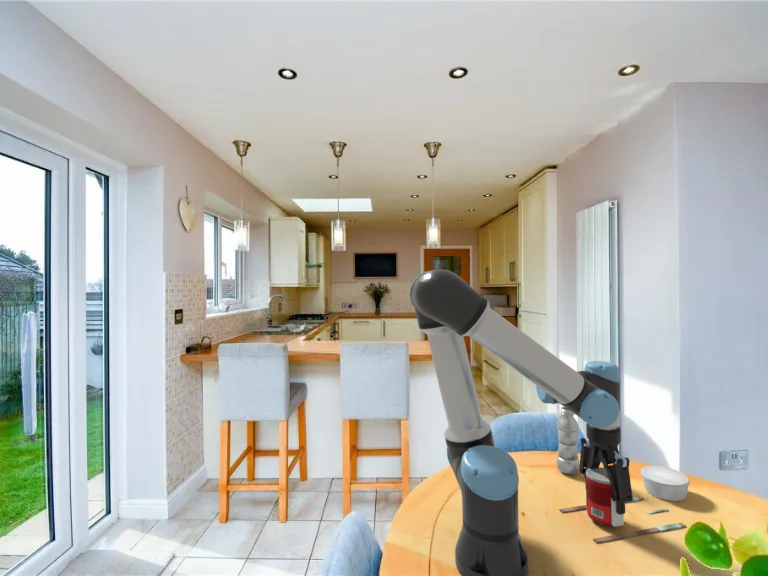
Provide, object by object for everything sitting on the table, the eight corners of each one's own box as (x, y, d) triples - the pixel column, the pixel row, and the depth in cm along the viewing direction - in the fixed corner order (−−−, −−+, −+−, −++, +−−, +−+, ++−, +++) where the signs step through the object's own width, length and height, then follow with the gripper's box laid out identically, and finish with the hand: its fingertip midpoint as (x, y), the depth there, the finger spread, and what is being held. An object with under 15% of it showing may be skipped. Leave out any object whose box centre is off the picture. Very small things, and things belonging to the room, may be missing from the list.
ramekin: (644, 499, 109) (644, 479, 109) (638, 479, 119) (638, 462, 119) (694, 508, 104) (694, 488, 104) (684, 487, 114) (683, 469, 114)
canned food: (628, 528, 95) (627, 483, 95) (591, 525, 96) (591, 480, 96) (616, 510, 102) (615, 467, 102) (582, 507, 104) (582, 465, 104)
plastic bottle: (553, 472, 125) (552, 409, 124) (562, 464, 129) (561, 404, 129) (574, 479, 120) (573, 413, 119) (583, 471, 124) (582, 408, 124)
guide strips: (596, 543, 91) (596, 542, 91) (559, 510, 104) (559, 508, 104) (693, 525, 97) (692, 524, 97) (645, 496, 110) (645, 494, 110)
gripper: (651, 439, 89) (652, 538, 90) (587, 409, 110) (588, 491, 110) (622, 442, 88) (624, 544, 88) (562, 412, 108) (564, 495, 109)
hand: (604, 514), depth 99 cm, fingers closed on canned food, 8 cm apart
